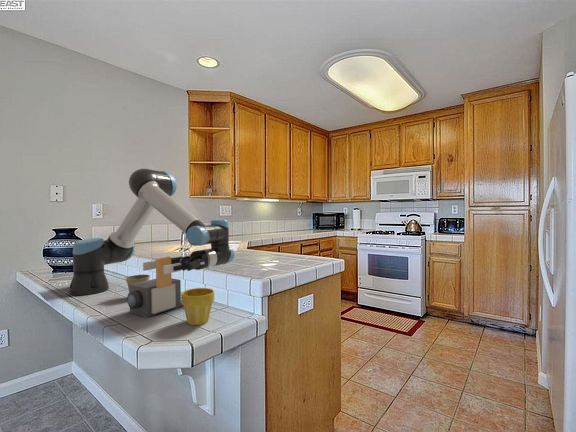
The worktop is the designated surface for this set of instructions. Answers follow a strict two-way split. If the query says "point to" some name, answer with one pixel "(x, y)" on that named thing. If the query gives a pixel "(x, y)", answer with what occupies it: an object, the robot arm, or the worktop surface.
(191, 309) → the plant pot
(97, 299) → the worktop surface
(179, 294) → the camera body
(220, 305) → the worktop surface
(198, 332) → the worktop surface
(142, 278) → the flower pot
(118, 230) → the robot arm
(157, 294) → the sliding cover
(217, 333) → the worktop surface
